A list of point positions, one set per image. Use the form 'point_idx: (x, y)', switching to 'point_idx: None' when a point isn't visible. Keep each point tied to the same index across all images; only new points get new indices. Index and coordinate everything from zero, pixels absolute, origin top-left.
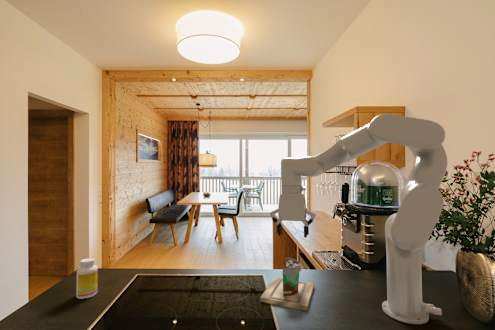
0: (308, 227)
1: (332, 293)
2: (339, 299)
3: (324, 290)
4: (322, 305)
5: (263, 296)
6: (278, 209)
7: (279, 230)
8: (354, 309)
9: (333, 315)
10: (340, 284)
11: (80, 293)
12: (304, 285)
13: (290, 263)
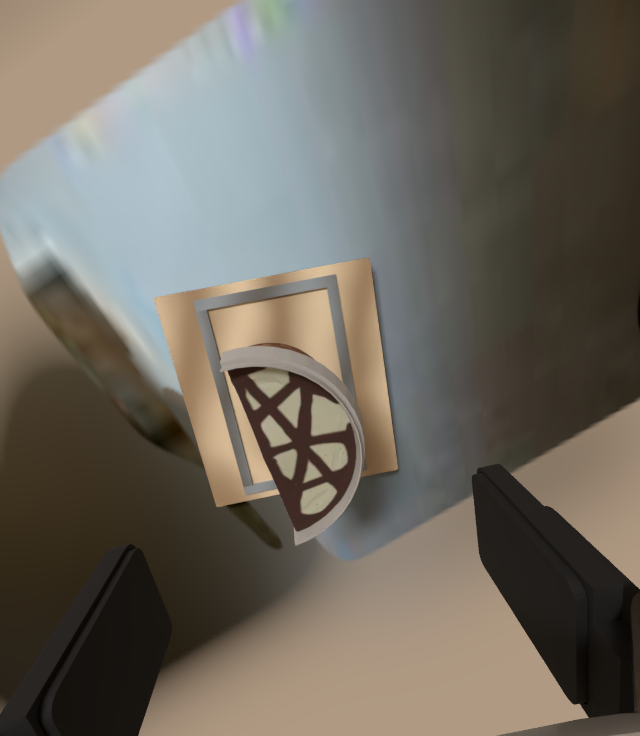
0: (625, 579)
1: (453, 274)
2: (487, 314)
3: (416, 263)
4: (433, 397)
5: (223, 496)
6: None
7: (140, 710)
8: (542, 361)
9: (478, 438)
10: (477, 143)
11: None
12: (336, 313)
13: (287, 416)
